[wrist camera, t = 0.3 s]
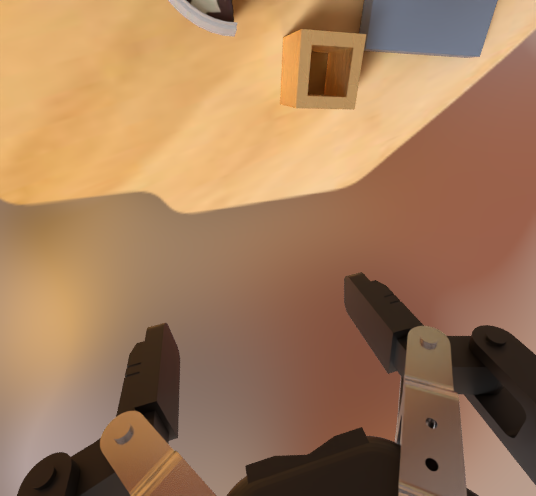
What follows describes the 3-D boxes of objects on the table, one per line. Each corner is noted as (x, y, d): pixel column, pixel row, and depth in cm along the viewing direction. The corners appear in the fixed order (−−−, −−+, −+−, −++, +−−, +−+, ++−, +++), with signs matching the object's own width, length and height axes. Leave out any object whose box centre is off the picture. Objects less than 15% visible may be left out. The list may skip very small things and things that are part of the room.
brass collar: (283, 37, 32) (301, 29, 27) (338, 41, 33) (366, 34, 28) (280, 104, 35) (295, 108, 30) (331, 105, 36) (354, 109, 31)
